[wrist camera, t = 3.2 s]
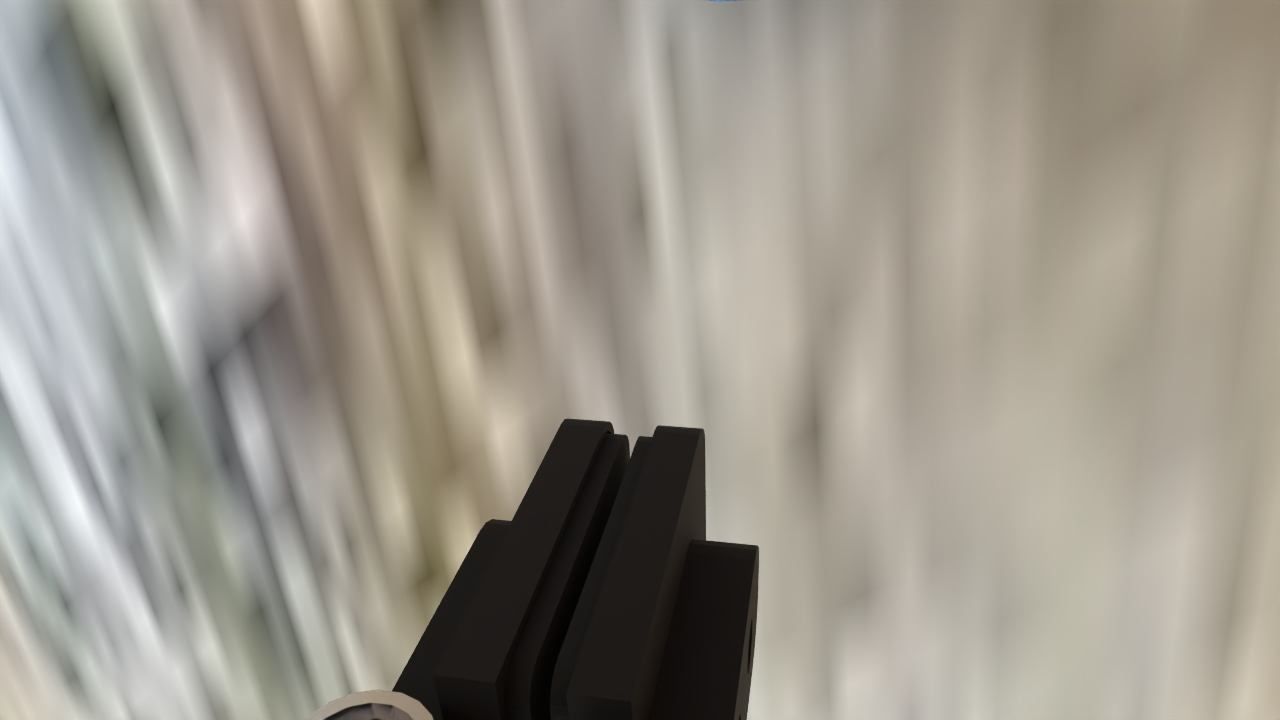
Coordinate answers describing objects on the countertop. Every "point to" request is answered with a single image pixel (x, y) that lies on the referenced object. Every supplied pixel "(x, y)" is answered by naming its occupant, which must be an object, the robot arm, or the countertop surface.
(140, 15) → the countertop surface
